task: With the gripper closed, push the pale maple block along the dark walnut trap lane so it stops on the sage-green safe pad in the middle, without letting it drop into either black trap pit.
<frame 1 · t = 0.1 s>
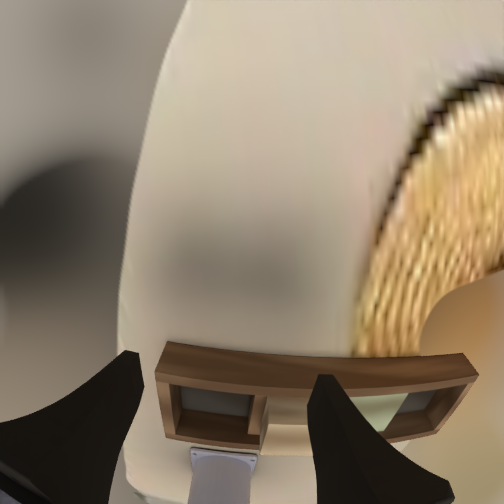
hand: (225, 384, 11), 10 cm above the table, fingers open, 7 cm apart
maple block: (292, 414, 22), point 2 cm above the table, touching trap lane
trap lane: (327, 394, 24), on the table
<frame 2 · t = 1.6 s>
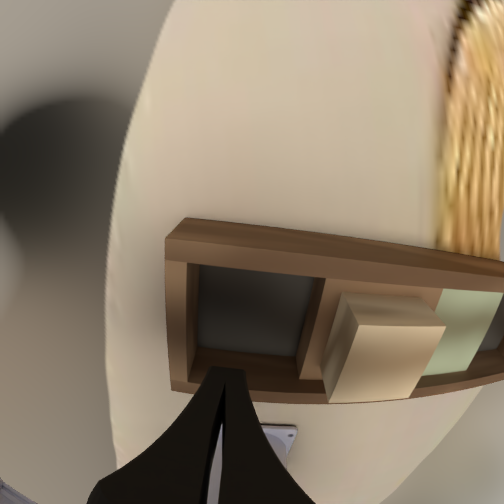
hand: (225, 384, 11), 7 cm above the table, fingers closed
maple block: (371, 333, 15), point 2 cm above the table, touching trap lane
trap lane: (403, 313, 17), on the table
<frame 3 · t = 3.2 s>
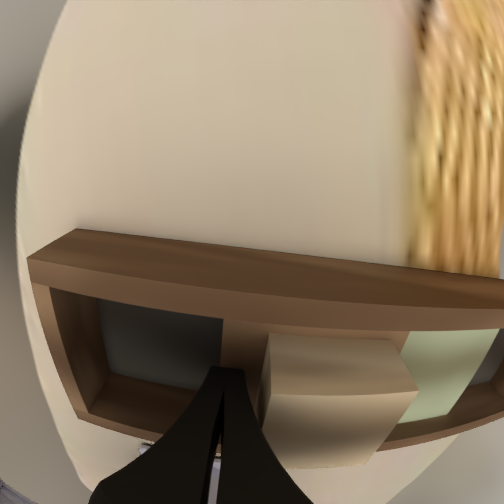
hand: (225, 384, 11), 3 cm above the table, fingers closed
maple block: (318, 383, 11), point 3 cm above the table, touching gripper, trap lane
trap lane: (362, 349, 14), on the table
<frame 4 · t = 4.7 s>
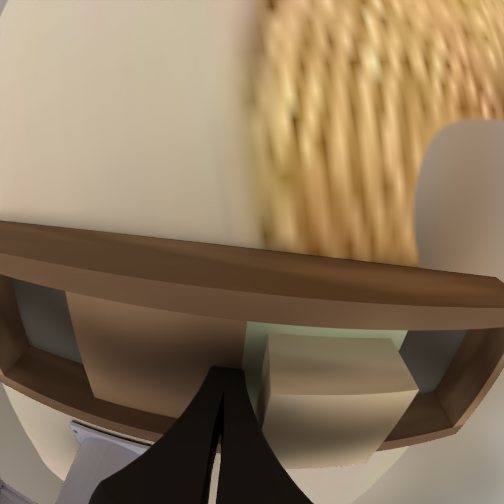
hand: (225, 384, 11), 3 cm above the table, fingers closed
maple block: (318, 382, 11), point 2 cm above the table, touching gripper, trap lane
trap lane: (232, 340, 13), on the table
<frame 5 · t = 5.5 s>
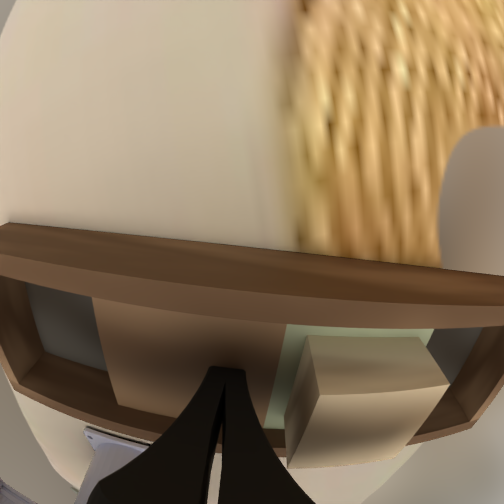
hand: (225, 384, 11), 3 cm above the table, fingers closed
maple block: (350, 382, 11), point 2 cm above the table, touching trap lane
trap lane: (262, 342, 13), on the table
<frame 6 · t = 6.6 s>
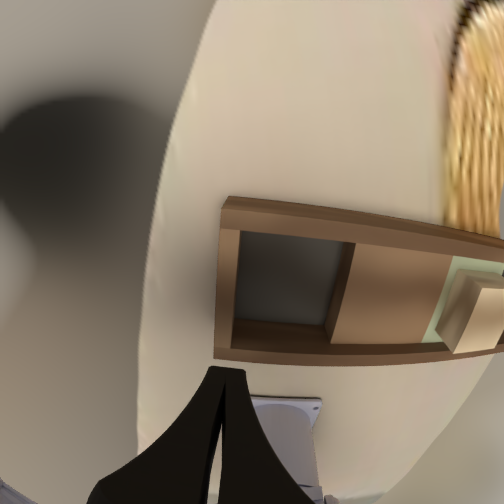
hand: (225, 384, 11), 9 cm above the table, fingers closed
maple block: (468, 301, 17), point 2 cm above the table, touching trap lane
trap lane: (418, 284, 19), on the table
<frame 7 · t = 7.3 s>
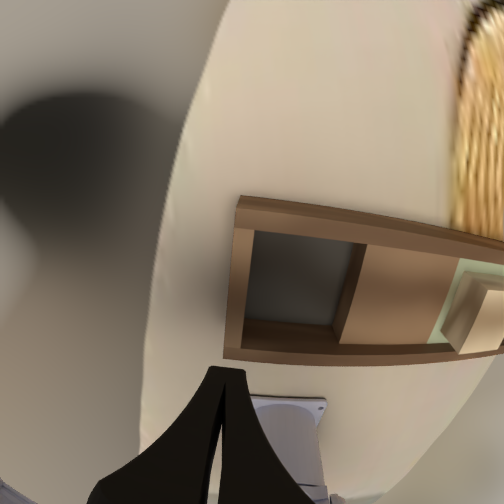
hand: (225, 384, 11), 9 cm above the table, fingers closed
maple block: (473, 303, 17), point 2 cm above the table, touching trap lane
trap lane: (424, 285, 19), on the table
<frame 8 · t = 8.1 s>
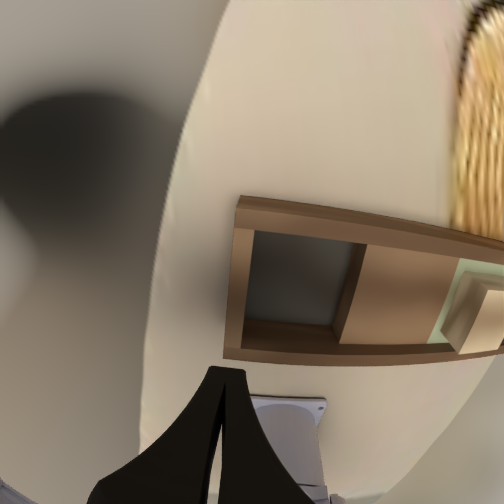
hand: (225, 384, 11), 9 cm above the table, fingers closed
maple block: (473, 303, 17), point 2 cm above the table, touching trap lane
trap lane: (424, 285, 19), on the table
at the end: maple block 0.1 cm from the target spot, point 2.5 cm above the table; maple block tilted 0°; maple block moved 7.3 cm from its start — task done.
